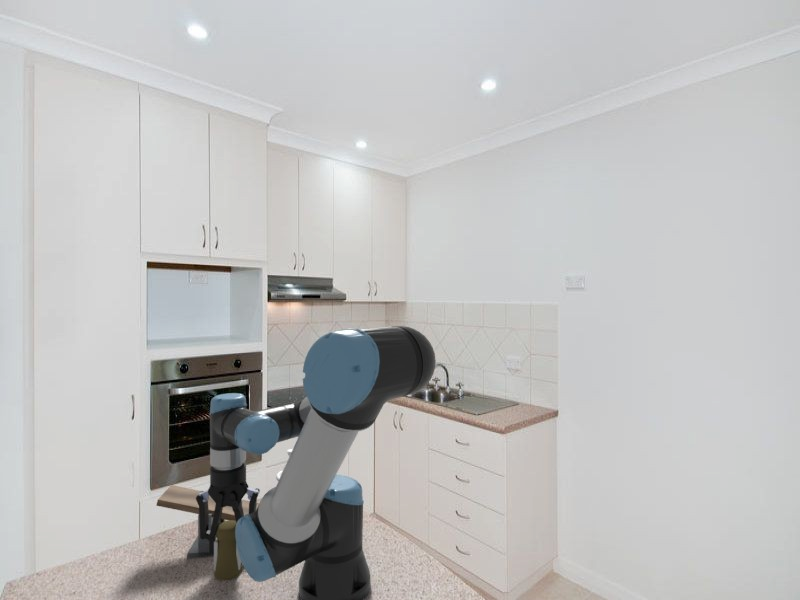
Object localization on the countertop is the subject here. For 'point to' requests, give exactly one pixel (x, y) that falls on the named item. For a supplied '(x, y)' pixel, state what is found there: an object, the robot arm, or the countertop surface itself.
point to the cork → (227, 552)
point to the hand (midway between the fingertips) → (228, 566)
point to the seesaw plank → (194, 502)
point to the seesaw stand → (201, 543)
